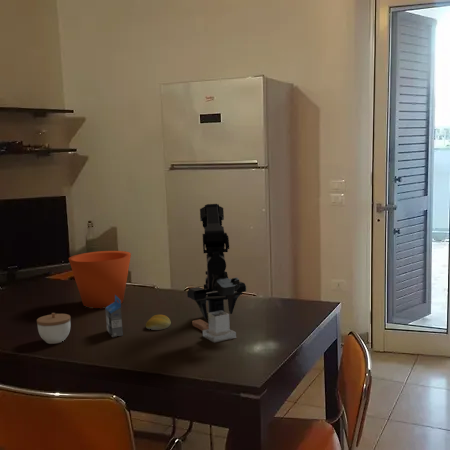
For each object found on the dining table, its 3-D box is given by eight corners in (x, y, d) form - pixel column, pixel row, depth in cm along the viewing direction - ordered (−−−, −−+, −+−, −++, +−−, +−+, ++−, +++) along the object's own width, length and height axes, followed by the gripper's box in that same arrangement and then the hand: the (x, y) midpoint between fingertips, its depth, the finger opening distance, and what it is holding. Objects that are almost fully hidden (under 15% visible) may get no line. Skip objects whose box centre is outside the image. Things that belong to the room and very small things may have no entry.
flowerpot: (146, 299, 244) (143, 252, 242) (104, 314, 223) (100, 263, 221) (102, 293, 258) (99, 249, 255) (59, 307, 237) (55, 259, 235)
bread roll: (143, 331, 201) (142, 319, 200) (151, 323, 209) (150, 312, 209) (166, 331, 199) (166, 319, 199) (173, 323, 208) (172, 312, 207)
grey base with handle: (186, 326, 203) (185, 312, 202) (206, 322, 206) (206, 308, 206) (214, 343, 184) (213, 327, 184) (236, 338, 188) (235, 323, 187)
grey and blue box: (106, 330, 202) (103, 295, 201) (117, 329, 204) (115, 294, 202) (111, 337, 194) (109, 301, 192) (123, 335, 195) (121, 299, 194)
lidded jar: (54, 347, 186) (51, 319, 185) (31, 343, 192) (29, 315, 191) (79, 338, 195) (76, 310, 194) (56, 334, 201) (54, 307, 200)
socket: (208, 330, 190) (208, 312, 189) (222, 328, 193) (221, 310, 192) (216, 334, 186) (215, 316, 185) (229, 331, 188) (229, 313, 187)
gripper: (200, 276, 175) (203, 327, 177) (254, 268, 184) (256, 316, 186) (185, 271, 185) (188, 319, 187) (236, 263, 194) (238, 309, 196)
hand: (218, 316), depth 189 cm, fingers open, 9 cm apart
